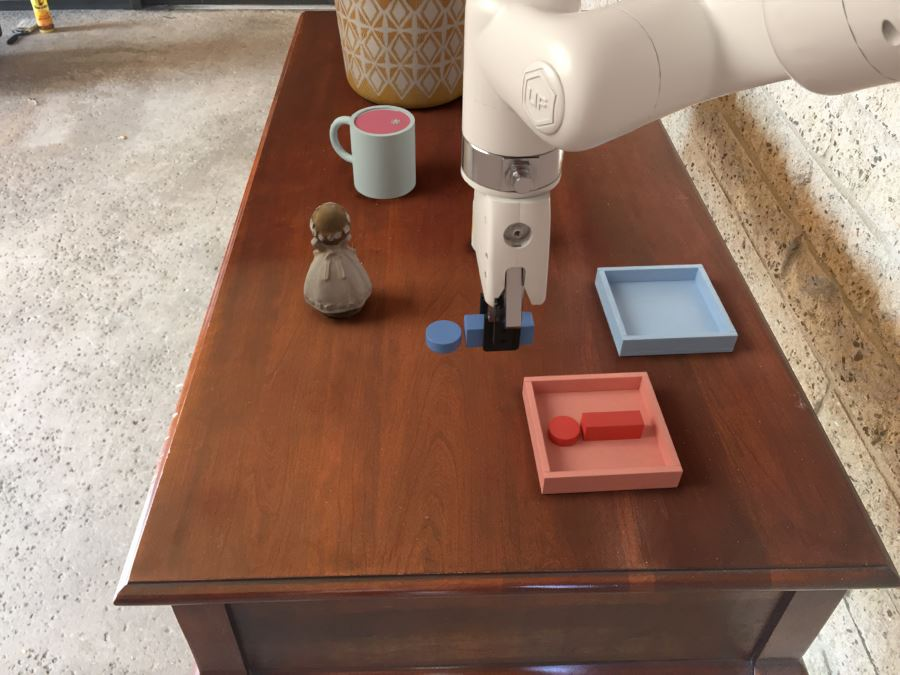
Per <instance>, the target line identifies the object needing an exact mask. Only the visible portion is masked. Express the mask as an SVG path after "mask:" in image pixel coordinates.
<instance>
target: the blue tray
mask: <svg viewBox="0 0 900 675" xmlns="http://www.w3.org/2000/svg"><path fill="white" fill-rule="evenodd" d="M594 285H595V288H596V292H597V294H598V297H599V300H600V303H601V307H602V310H603V312H604V315H605V318H606V322H607V324H608V327H609V330H610V333H611V336H612V339H613V342H614V345H615V348H616V350H617V353H618V354H617V355H618V356H619V357H635V356H636V357H637V356H638V357H639V356H661V355H662V356H664V355H685V354H706V353H707V354H709V353H713V354H714V353H733V352H734V348H735V344H736V343H737V340H738V338H739V334H738V332H737V330H736V327H735V326H734V324H733V323H732V320H731V318H730V317H729V315H728V312H727V311H726V309H725V307H724V305H723V302H722V300H721V299H720V297H719V295H718V293H717V291H716V289H715V287H714V285H713V284H712V281H711V279H710V277H709V276H708V273H707V272H706V270H705V268H704V265H703V264H702V263H698V264H693V263H692V264H663V265H662V264H661V265H635V266H634V265H633V266H606V267H605V266H603V267H597V270H596V275H595V279H594Z"/></svg>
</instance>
